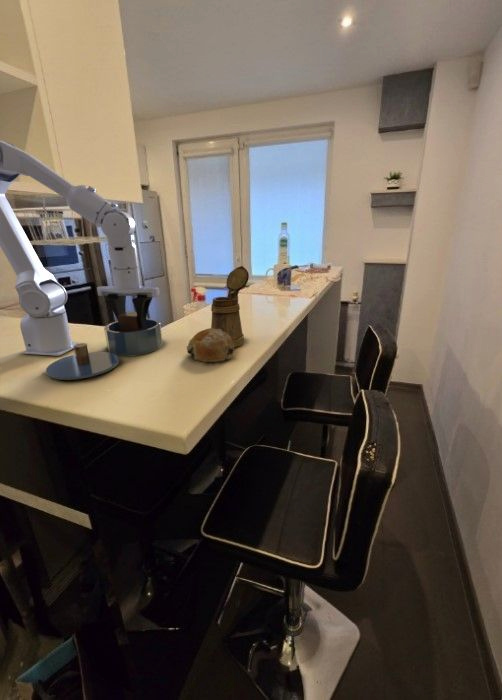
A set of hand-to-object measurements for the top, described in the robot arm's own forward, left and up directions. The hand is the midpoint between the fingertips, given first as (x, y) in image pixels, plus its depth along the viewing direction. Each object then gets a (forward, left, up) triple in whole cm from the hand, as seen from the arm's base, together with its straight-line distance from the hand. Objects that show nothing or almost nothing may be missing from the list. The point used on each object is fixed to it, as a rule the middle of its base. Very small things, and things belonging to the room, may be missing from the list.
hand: (133, 325), depth 79 cm
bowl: (0, 0, -5) cm, 5 cm away
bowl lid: (-4, -14, -5) cm, 15 cm away
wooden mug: (+22, +9, -6) cm, 24 cm away
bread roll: (+20, -3, -6) cm, 21 cm away
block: (0, 0, -1) cm, 1 cm away
